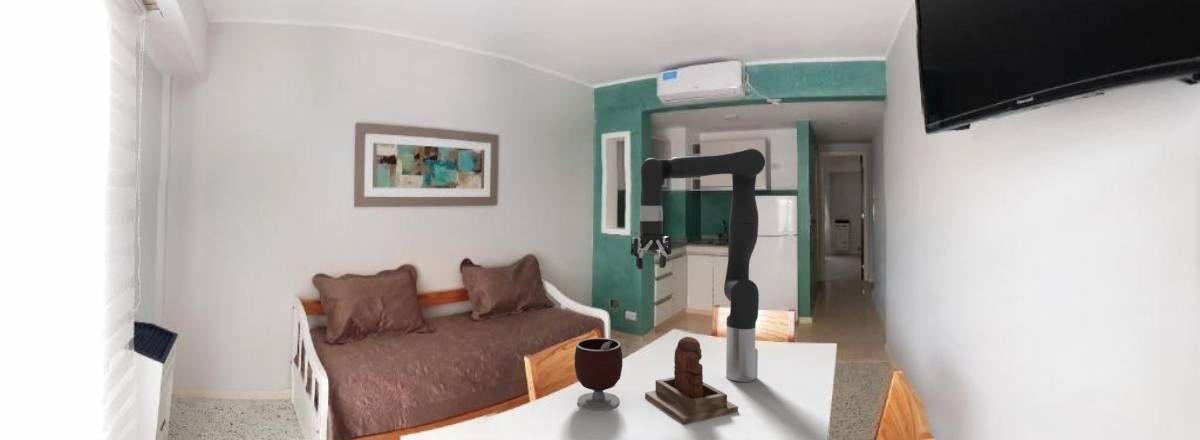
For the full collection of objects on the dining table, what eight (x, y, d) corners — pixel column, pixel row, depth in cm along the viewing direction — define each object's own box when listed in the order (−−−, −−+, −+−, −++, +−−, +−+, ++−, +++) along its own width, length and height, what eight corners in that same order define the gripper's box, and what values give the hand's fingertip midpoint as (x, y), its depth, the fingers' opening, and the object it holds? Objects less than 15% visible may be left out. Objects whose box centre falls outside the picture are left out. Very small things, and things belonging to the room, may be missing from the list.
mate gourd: (568, 397, 150) (567, 330, 149) (610, 390, 155) (610, 326, 154) (587, 417, 135) (587, 344, 135) (633, 409, 141) (633, 338, 140)
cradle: (694, 387, 157) (695, 371, 157) (738, 411, 139) (738, 394, 139) (645, 397, 149) (645, 380, 149) (683, 424, 131) (683, 405, 131)
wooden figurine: (709, 406, 139) (710, 341, 139) (689, 409, 137) (689, 343, 137) (689, 390, 151) (689, 331, 150) (669, 393, 149) (670, 333, 148)
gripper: (663, 218, 172) (663, 265, 173) (626, 219, 166) (626, 268, 167) (675, 219, 165) (675, 268, 166) (638, 220, 159) (638, 271, 160)
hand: (651, 268), depth 166 cm, fingers open, 8 cm apart
